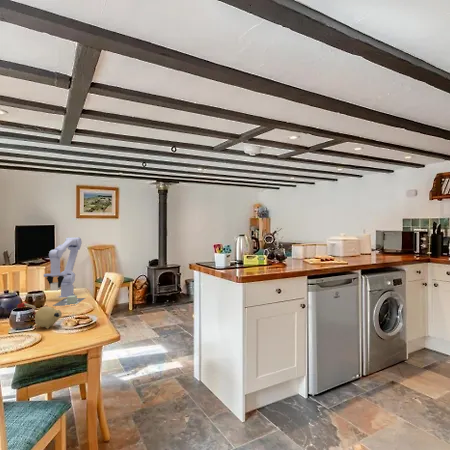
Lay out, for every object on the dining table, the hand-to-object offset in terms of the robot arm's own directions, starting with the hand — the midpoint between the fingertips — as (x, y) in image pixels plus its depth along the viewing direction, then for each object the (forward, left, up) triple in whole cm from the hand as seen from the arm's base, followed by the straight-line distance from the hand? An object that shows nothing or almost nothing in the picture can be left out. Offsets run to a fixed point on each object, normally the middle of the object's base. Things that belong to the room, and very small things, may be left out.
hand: (55, 287), depth 212 cm
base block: (+8, +14, -9) cm, 18 cm away
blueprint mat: (+4, +11, -9) cm, 15 cm away
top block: (0, 0, -2) cm, 2 cm away
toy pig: (+56, +20, -10) cm, 60 cm away
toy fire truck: (+44, +6, -10) cm, 45 cm away
